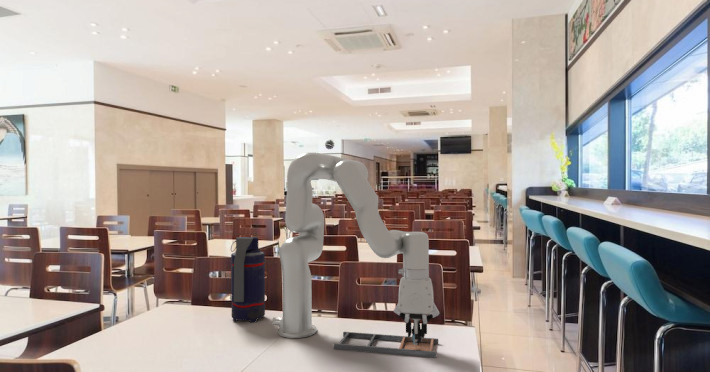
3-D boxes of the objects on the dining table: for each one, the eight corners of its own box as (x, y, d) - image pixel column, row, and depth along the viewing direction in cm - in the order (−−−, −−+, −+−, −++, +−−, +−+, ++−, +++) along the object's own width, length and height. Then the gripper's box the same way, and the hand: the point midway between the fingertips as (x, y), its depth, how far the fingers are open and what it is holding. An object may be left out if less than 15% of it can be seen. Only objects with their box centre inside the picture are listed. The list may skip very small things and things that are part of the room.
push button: (424, 347, 125) (423, 312, 125) (406, 345, 127) (405, 311, 127) (426, 339, 132) (426, 306, 132) (409, 338, 133) (408, 305, 133)
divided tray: (333, 348, 129) (333, 343, 129) (343, 336, 140) (343, 331, 140) (436, 357, 122) (436, 352, 122) (438, 343, 133) (438, 338, 133)
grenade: (240, 313, 167) (240, 234, 167) (270, 314, 164) (269, 235, 164) (222, 324, 153) (222, 239, 153) (254, 326, 151) (253, 239, 151)
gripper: (386, 275, 127) (386, 337, 127) (443, 277, 123) (444, 342, 123) (390, 270, 135) (390, 329, 135) (444, 272, 131) (445, 333, 131)
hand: (416, 335), depth 129 cm, fingers closed on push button, 3 cm apart
